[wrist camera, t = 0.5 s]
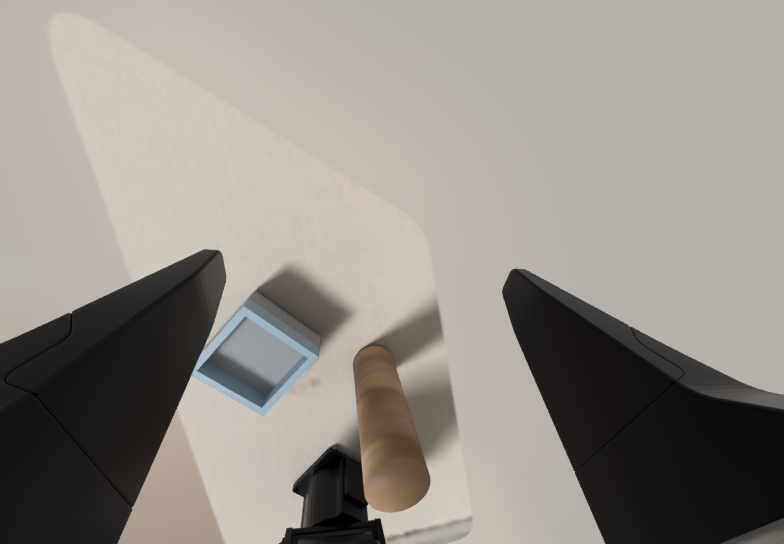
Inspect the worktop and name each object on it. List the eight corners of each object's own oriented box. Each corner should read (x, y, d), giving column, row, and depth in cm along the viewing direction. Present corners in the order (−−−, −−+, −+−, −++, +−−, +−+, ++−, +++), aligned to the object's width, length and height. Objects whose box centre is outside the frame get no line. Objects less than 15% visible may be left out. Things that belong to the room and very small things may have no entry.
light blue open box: (271, 389, 29) (263, 416, 26) (203, 348, 27) (184, 372, 24) (320, 336, 29) (318, 357, 25) (255, 290, 26) (243, 306, 23)
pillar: (374, 387, 31) (398, 521, 19) (344, 366, 30) (350, 495, 18) (401, 360, 31) (443, 478, 19) (372, 338, 30) (397, 449, 17)
